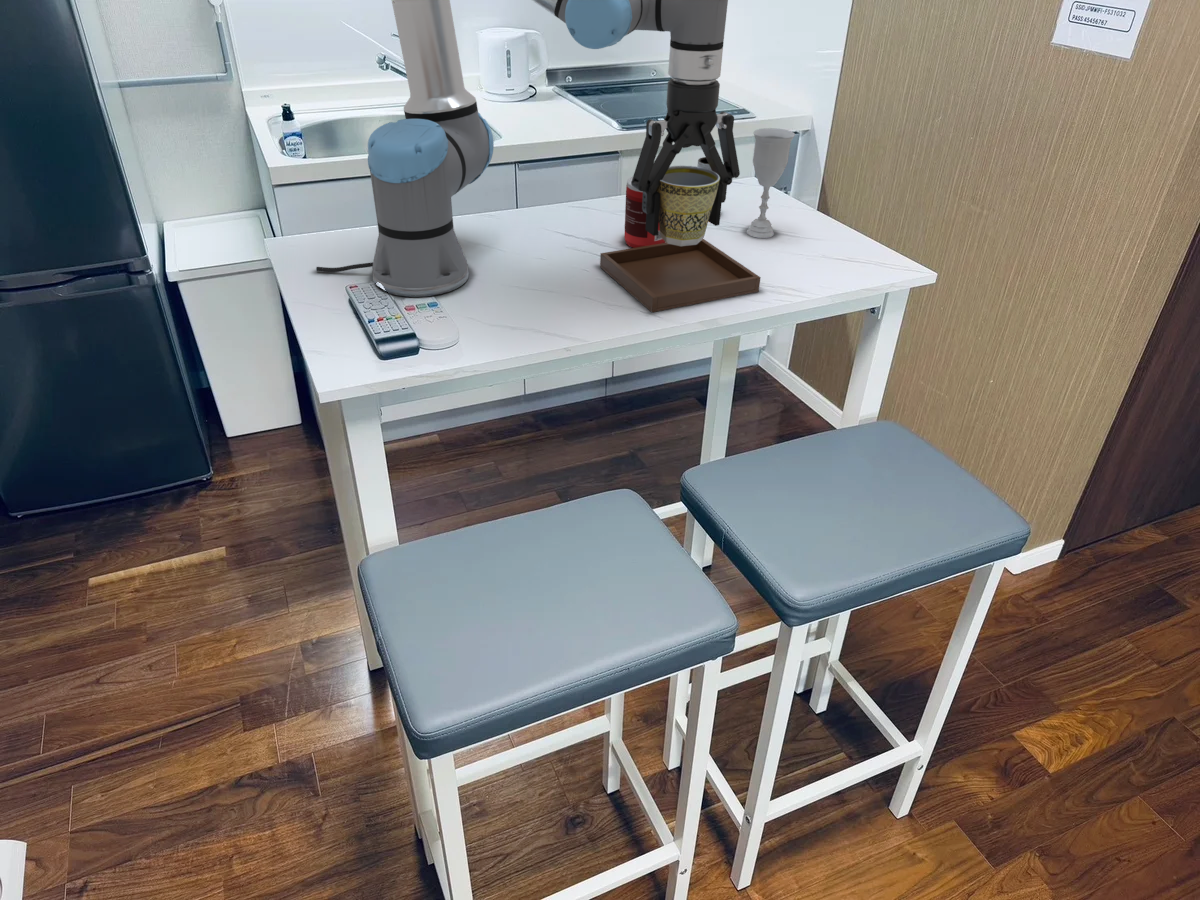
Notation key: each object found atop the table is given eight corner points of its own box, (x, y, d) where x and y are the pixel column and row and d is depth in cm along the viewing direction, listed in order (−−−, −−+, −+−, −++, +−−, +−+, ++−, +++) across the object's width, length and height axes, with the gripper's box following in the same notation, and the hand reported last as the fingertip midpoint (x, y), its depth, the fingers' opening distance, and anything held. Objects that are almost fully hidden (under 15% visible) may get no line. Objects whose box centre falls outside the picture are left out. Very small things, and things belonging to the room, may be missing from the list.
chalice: (749, 241, 153) (763, 139, 142) (734, 228, 158) (746, 129, 148) (786, 237, 155) (802, 137, 144) (770, 224, 160) (784, 127, 149)
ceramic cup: (699, 255, 128) (705, 190, 122) (640, 242, 132) (643, 179, 126) (728, 228, 137) (735, 166, 132) (672, 217, 141) (677, 156, 135)
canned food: (667, 235, 154) (671, 175, 148) (665, 252, 148) (670, 190, 141) (625, 232, 155) (628, 173, 148) (622, 249, 148) (624, 187, 142)
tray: (651, 312, 128) (652, 297, 127) (599, 267, 142) (600, 253, 140) (758, 291, 135) (760, 277, 134) (699, 250, 149) (700, 236, 147)
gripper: (634, 91, 114) (628, 246, 126) (775, 78, 122) (756, 225, 135) (610, 79, 119) (607, 229, 132) (746, 68, 127) (731, 210, 140)
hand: (682, 227), depth 133 cm, fingers closed on ceramic cup, 10 cm apart
